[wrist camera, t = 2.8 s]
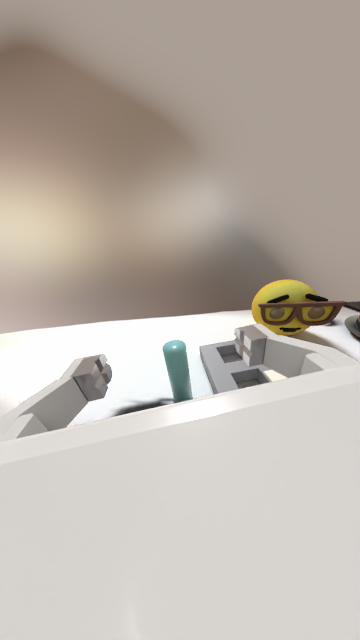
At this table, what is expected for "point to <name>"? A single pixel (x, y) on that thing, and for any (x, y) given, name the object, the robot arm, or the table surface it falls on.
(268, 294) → the emoji
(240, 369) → the socket board
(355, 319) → the figurine
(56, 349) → the table surface
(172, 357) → the teal rounded cylinder
